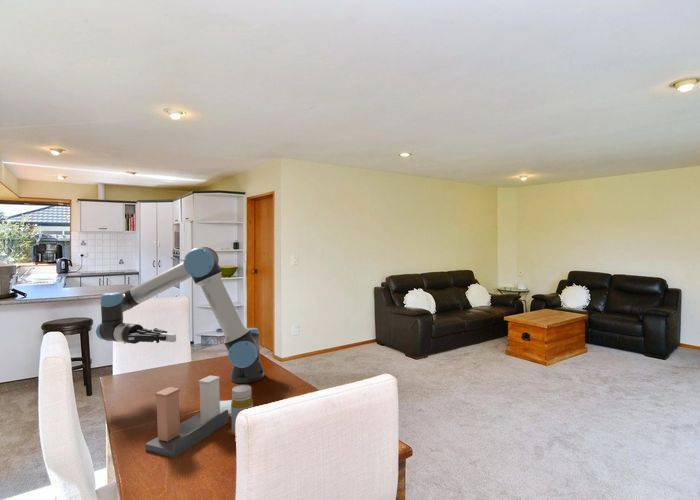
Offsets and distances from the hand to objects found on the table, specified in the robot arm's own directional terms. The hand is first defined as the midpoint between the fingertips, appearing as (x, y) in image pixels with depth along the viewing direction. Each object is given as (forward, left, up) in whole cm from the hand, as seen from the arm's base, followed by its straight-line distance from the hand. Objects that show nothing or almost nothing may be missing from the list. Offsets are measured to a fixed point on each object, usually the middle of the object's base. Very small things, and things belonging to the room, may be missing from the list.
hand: (174, 338), depth 147 cm
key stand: (+1, +22, -28) cm, 35 cm away
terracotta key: (+8, +23, -26) cm, 36 cm away
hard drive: (-14, +9, -29) cm, 33 cm away
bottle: (-13, +31, -28) cm, 44 cm away
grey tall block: (-6, +21, -26) cm, 34 cm away
